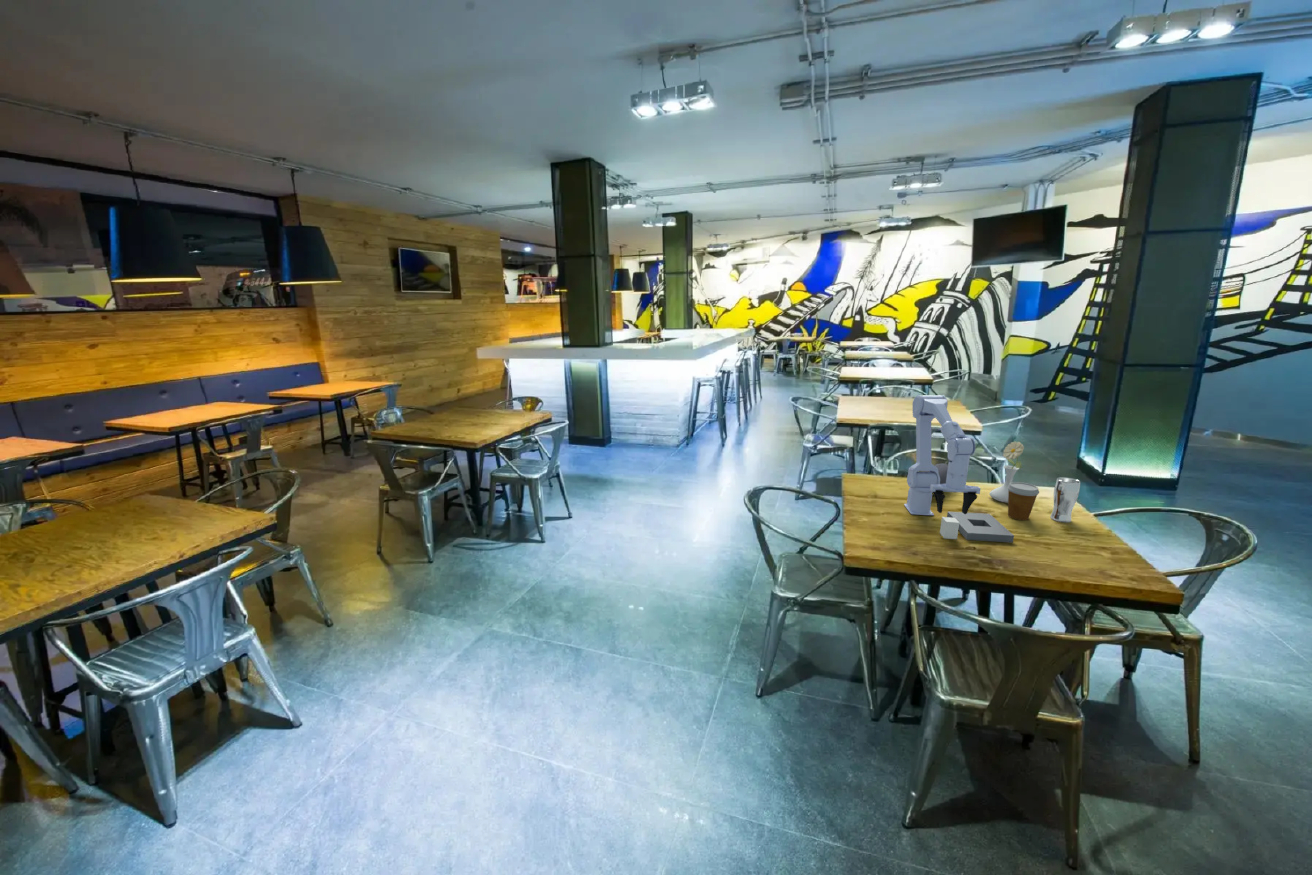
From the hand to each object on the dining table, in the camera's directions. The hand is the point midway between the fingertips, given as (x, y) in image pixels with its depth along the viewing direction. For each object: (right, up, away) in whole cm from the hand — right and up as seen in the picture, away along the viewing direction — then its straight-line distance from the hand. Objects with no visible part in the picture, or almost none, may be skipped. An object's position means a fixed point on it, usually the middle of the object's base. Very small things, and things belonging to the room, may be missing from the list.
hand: (951, 512), depth 172 cm
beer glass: (+48, -5, +15) cm, 50 cm away
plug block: (0, -8, +2) cm, 9 cm away
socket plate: (+13, -7, +7) cm, 16 cm away
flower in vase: (+40, 0, +32) cm, 51 cm away
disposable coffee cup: (+34, -4, +17) cm, 39 cm away
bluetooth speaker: (+17, +3, +44) cm, 47 cm away
